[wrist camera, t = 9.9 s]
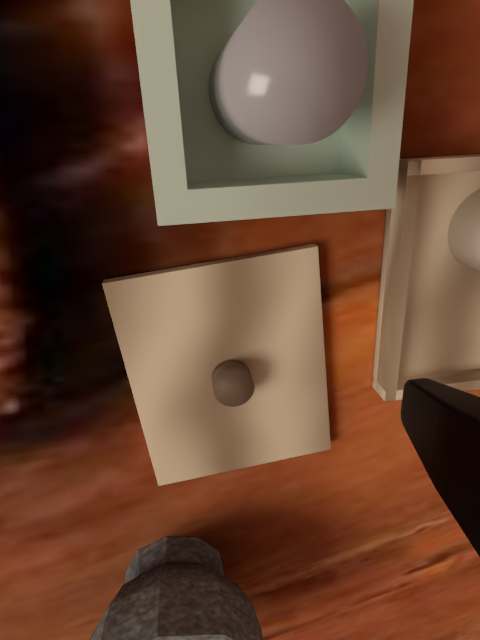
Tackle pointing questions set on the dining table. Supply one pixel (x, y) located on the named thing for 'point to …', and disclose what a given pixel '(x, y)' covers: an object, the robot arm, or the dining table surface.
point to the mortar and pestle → (178, 597)
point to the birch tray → (427, 282)
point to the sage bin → (263, 160)
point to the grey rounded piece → (290, 72)
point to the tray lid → (225, 360)
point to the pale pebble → (466, 232)
